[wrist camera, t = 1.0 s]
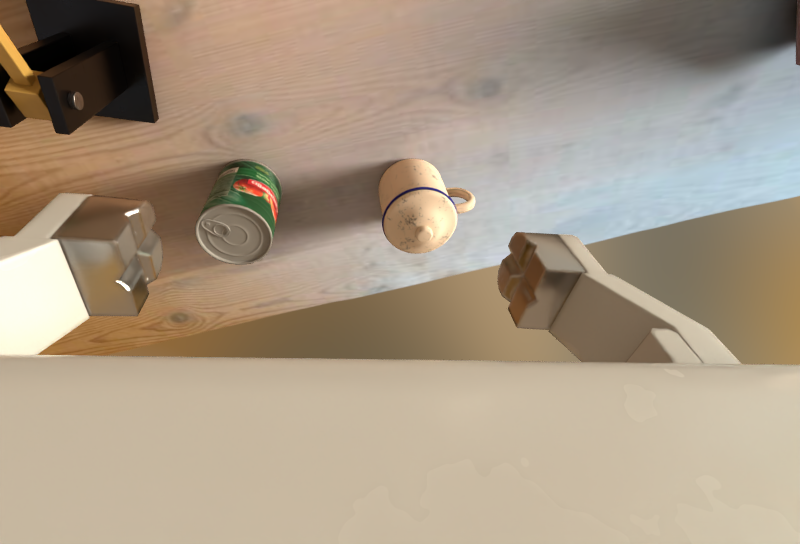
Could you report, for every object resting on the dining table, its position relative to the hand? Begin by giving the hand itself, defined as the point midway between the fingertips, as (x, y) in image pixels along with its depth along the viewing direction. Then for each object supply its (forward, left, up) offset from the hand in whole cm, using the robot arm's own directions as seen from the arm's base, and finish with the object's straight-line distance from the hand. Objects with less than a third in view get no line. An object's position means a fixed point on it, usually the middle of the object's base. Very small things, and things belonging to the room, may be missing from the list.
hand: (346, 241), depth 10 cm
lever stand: (+9, -23, -42) cm, 48 cm away
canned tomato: (+22, -9, -42) cm, 48 cm away
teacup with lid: (+19, +13, -42) cm, 48 cm away
